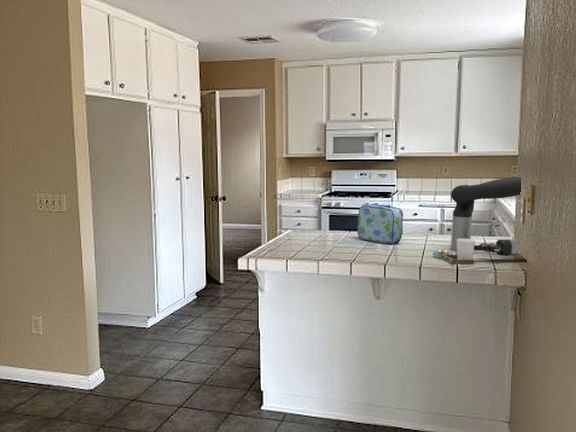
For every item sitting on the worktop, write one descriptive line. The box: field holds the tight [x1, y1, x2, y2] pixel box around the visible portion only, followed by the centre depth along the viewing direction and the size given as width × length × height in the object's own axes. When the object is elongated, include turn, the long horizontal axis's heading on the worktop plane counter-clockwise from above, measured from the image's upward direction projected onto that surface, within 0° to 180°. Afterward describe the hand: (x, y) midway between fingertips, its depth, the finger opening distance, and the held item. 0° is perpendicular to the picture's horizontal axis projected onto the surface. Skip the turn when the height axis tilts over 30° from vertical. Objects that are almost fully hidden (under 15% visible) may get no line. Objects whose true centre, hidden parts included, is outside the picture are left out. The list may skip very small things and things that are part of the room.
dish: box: [432, 251, 454, 260], centre depth 248 cm, size 7×7×2 cm
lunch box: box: [357, 203, 404, 245], centre depth 288 cm, size 26×11×21 cm, turn 42°
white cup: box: [456, 238, 476, 260], centre depth 239 cm, size 8×8×10 cm
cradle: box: [441, 254, 475, 266], centre depth 239 cm, size 12×10×2 cm
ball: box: [435, 249, 444, 254], centre depth 248 cm, size 3×3×3 cm
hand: (473, 247), depth 239 cm, fingers closed
